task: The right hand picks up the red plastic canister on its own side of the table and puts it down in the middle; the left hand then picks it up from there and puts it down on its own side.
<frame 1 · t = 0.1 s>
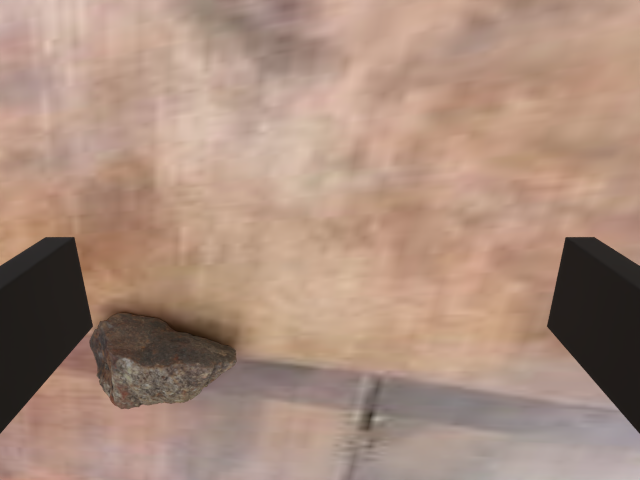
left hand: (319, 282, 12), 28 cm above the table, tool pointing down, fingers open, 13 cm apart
rock: (165, 346, 46), on the table
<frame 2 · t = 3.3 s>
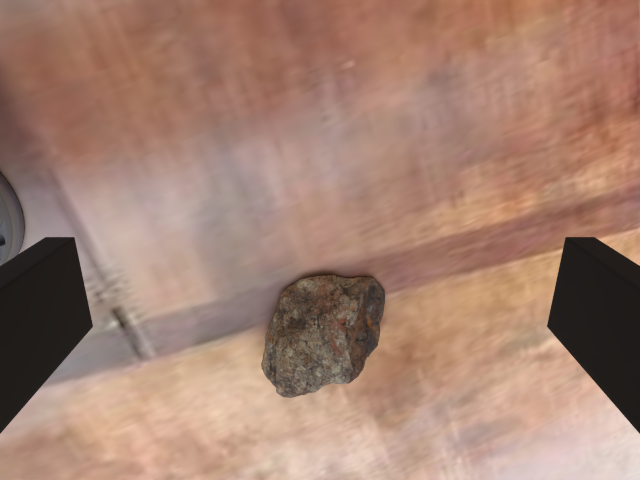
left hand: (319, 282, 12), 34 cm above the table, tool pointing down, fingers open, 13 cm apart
rock: (322, 311, 51), on the table
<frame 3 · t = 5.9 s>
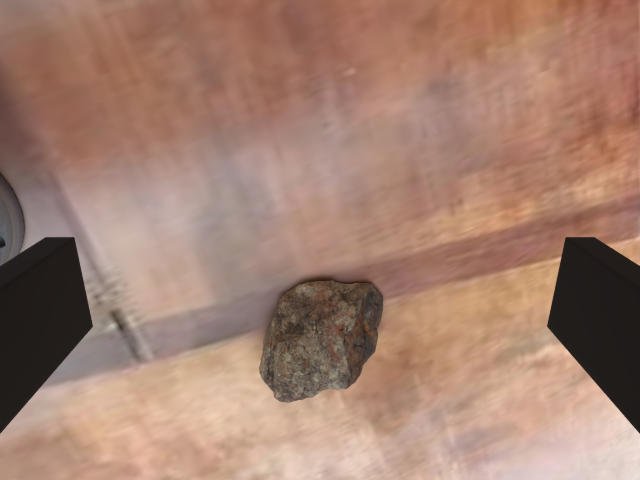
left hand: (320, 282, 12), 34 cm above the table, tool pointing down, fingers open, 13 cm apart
rock: (320, 316, 52), on the table
when the right hand's fingers open (4 cm above the table, at t = 8.8 s): canister drops 2 cm, on the table.
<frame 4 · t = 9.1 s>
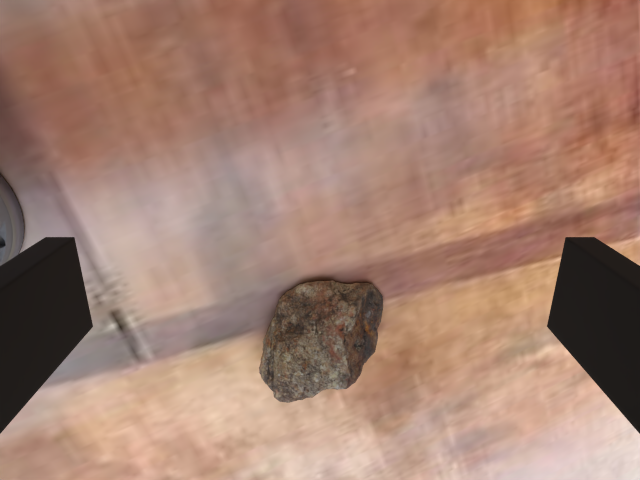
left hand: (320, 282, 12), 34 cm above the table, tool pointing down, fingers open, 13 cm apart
rock: (320, 316, 52), on the table
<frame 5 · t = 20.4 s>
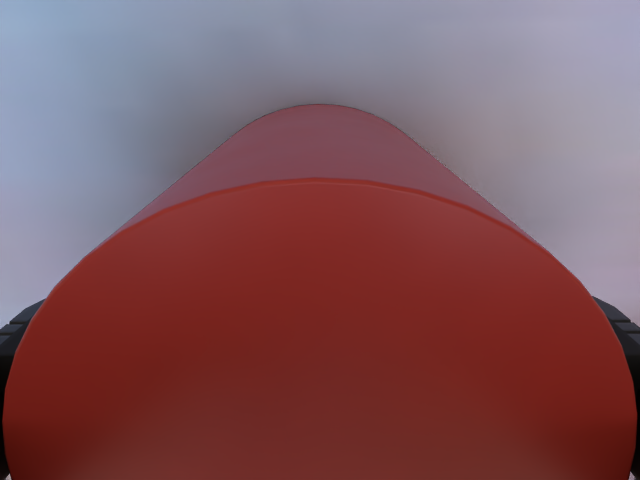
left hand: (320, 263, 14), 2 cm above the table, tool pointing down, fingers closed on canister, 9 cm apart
canister: (319, 238, 16), on the table, touching left hand
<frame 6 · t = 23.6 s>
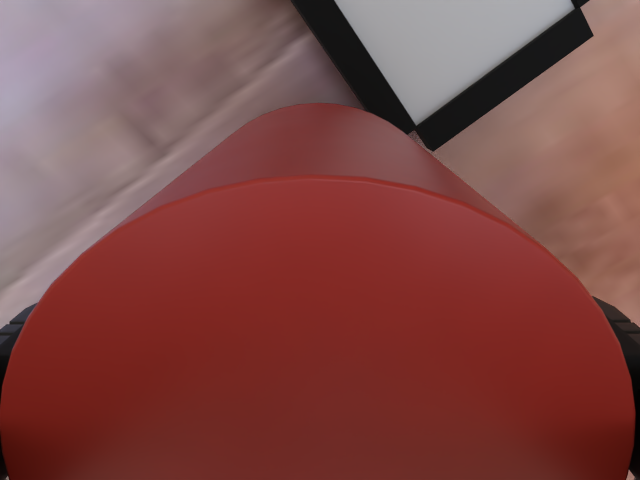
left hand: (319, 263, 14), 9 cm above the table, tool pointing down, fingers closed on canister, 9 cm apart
canister: (318, 237, 16), point 7 cm above the table, touching left hand
when the left hand's fingers open (4 cm above the table, at t = 27.0 s): canister drops 2 cm, on the table.
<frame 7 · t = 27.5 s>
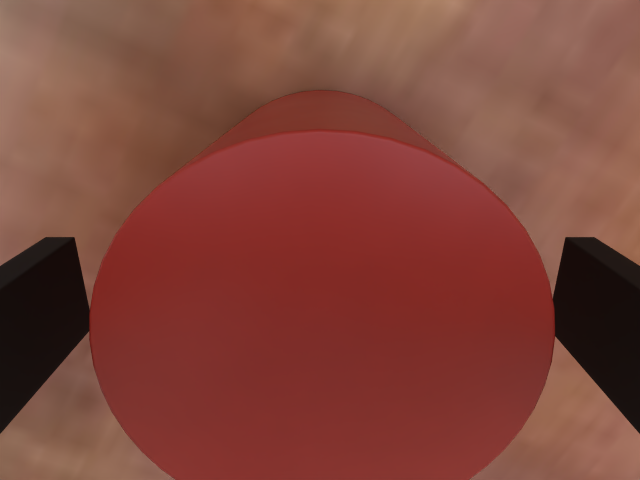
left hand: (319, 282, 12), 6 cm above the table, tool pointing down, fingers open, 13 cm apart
canister: (321, 208, 18), on the table
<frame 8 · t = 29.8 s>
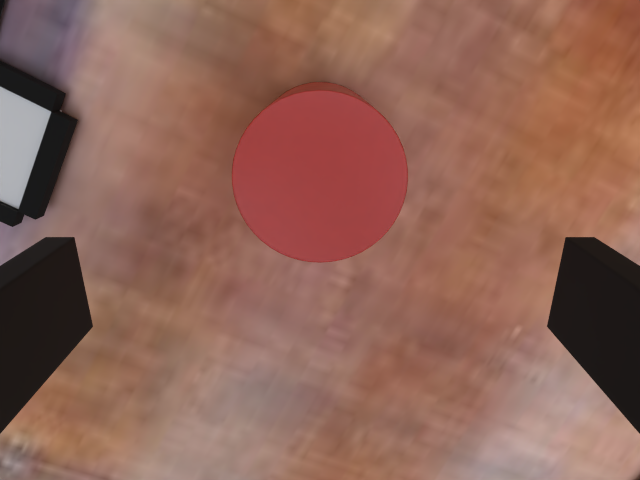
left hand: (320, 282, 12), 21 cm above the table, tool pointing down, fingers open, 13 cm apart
canister: (319, 148, 32), on the table
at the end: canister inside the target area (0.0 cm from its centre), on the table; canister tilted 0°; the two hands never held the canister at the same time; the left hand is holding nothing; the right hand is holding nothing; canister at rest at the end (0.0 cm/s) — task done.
